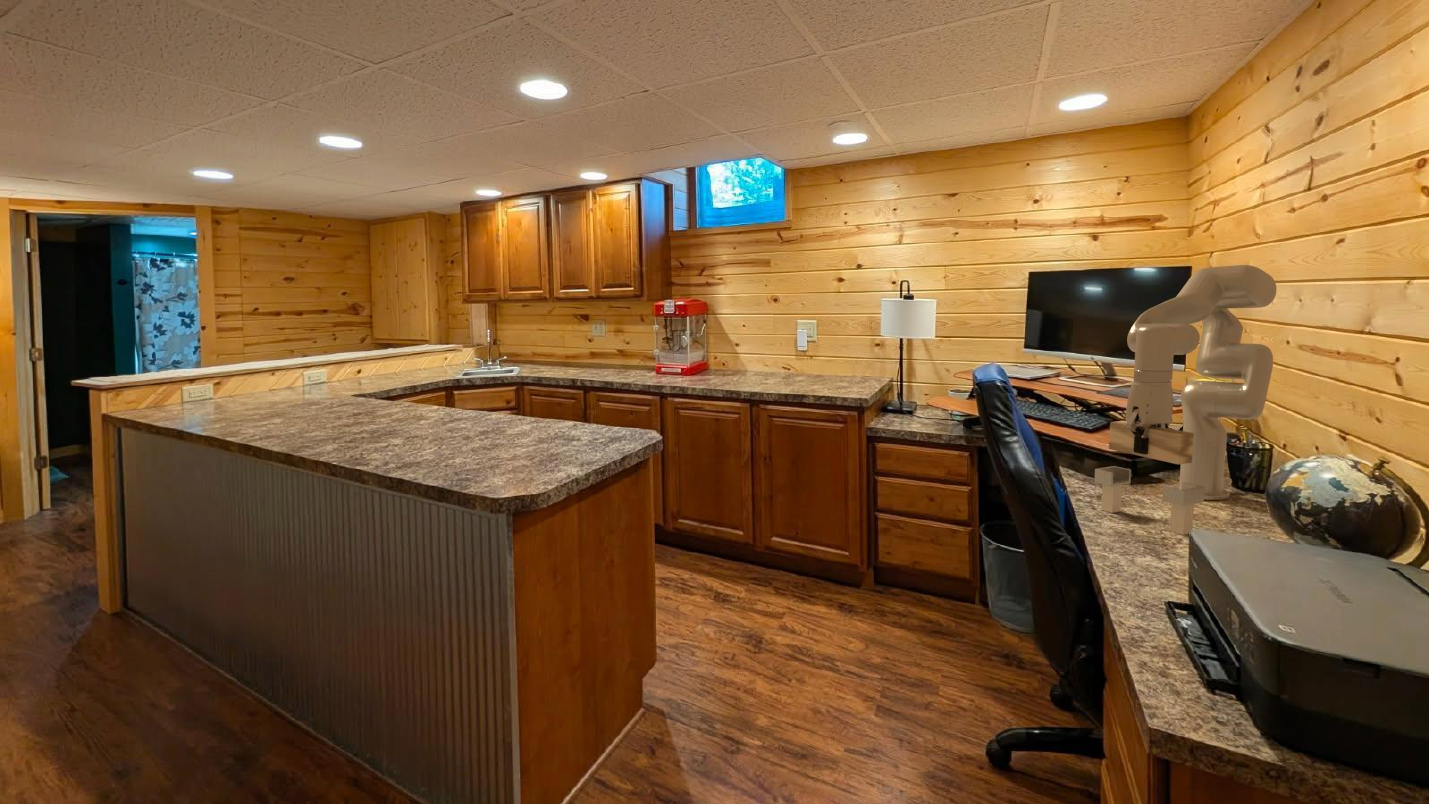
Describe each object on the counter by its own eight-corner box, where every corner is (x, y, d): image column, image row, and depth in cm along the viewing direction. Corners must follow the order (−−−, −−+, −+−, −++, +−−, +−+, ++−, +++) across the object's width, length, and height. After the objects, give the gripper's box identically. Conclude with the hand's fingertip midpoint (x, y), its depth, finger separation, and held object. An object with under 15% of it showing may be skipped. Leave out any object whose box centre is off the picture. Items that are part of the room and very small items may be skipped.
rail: (1121, 447, 159) (1122, 420, 158) (1191, 462, 142) (1193, 432, 141) (1108, 448, 158) (1110, 422, 157) (1178, 464, 141) (1180, 434, 140)
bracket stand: (1112, 506, 164) (1114, 465, 162) (1201, 532, 143) (1204, 486, 141) (1093, 509, 162) (1095, 468, 160) (1180, 537, 141) (1184, 490, 139)
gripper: (1161, 374, 153) (1157, 446, 156) (1112, 378, 148) (1108, 452, 151) (1193, 376, 146) (1188, 451, 149) (1142, 381, 141) (1137, 459, 143)
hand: (1147, 451), depth 150 cm, fingers closed on rail, 4 cm apart
